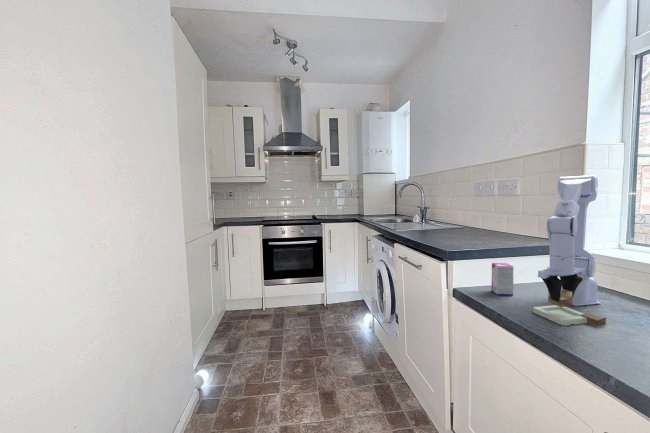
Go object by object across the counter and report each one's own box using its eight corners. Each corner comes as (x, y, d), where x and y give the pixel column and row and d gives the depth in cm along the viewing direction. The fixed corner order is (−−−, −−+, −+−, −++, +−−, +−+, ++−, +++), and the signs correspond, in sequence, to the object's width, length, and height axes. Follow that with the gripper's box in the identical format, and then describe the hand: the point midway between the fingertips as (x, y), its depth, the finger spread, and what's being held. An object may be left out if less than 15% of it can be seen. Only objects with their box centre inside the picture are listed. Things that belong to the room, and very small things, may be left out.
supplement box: (514, 296, 104) (513, 266, 104) (496, 295, 105) (496, 265, 105) (507, 291, 110) (507, 262, 109) (490, 290, 111) (490, 262, 110)
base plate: (560, 309, 90) (560, 304, 90) (593, 322, 80) (593, 317, 80) (532, 312, 89) (532, 307, 89) (562, 325, 79) (562, 320, 79)
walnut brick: (588, 318, 83) (588, 311, 83) (605, 324, 79) (606, 317, 79) (580, 321, 82) (580, 314, 81) (598, 327, 78) (598, 320, 78)
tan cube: (559, 301, 87) (559, 287, 87) (572, 305, 83) (572, 291, 83) (548, 302, 87) (548, 288, 87) (560, 307, 83) (560, 292, 83)
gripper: (568, 251, 89) (568, 293, 90) (529, 254, 87) (529, 297, 87) (592, 255, 82) (592, 300, 83) (550, 259, 80) (550, 305, 80)
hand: (561, 299), depth 85 cm, fingers closed on tan cube, 4 cm apart
